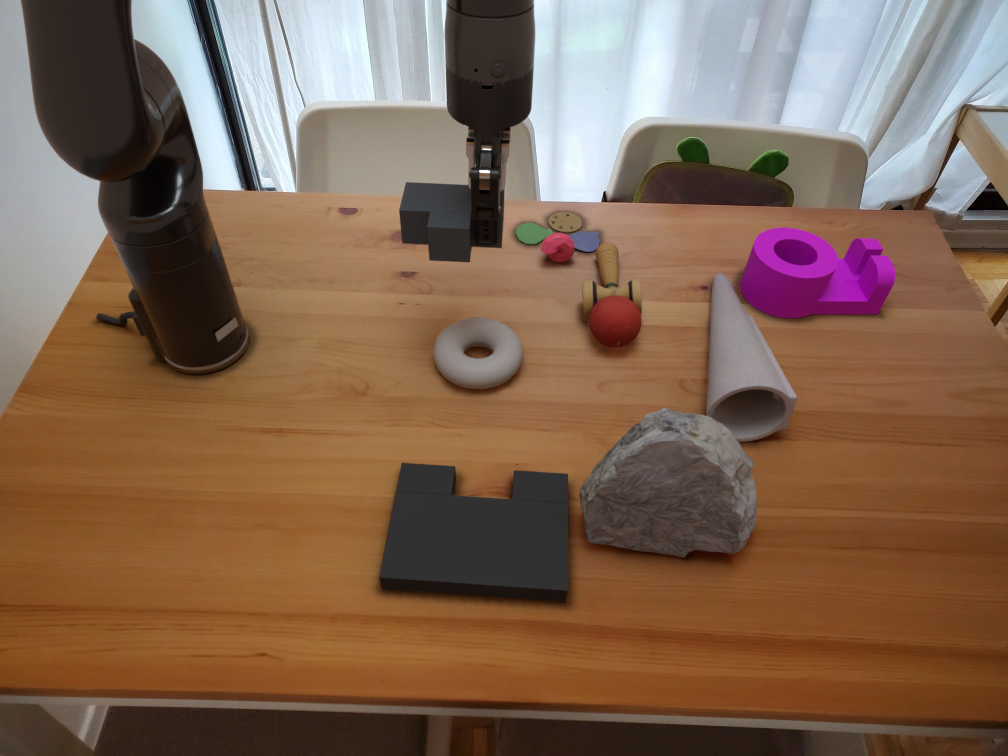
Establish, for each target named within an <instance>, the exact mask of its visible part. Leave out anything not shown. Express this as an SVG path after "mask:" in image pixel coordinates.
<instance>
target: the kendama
mask: <svg viewBox="0 0 1008 756" xmlns="http://www.w3.org/2000/svg"><path fill="white" fill-rule="evenodd" d="M595 259H596V262H597V265H598V266H597V267H598V271H599V275H600V280H601V283H602V285H603V286H601V285H599V284H598V283H596V282H595V281H594V280H593V279H585V280H582V282H581V283H582V284H581V287H582V289H581V290H582V291H581V292H582V311H583V313H582V314H583V320H584V321H588V328H589V331H590V334H591V336H592V338H593V339H594V340H595V341H596V342H597V343H598V344H599V345H601V346H603V347H606V348H609V349H616V350H618V349H621V348H624V347H627V346H628V345H631V343H633V342H634V341H635V340H636V339H637V337H638V336H639V333H640V331H641V329H642V320H643V319H642V314H643V302H642V301H643V297H642V295H643V294H642V284H641V279H633V278H632V279H631V280H629V281H628V282H627V283H626V284H623V285H622V286H619V279H620V273H619V272H620V271H619V269H620V268H619V249H618V247H617V245H616V244H614V243H612V242H604V243H601V244H599V247H598V248H597V249H596V250H595Z"/></svg>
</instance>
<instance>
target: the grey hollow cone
mask: <svg viewBox="0 0 1008 756" xmlns="http://www.w3.org/2000/svg"><path fill="white" fill-rule="evenodd" d="M711 286H712V287H711V296H710V297H711V300H710V317H709V319H710V320H709V321H710V322H709V339H708V340H709V342H708V343H709V345H708V363H707V364H708V365H707V388H706V403H705V404H706V405H705V406H706V407H705V416H709V417H711V418H713V419H714V420H715V421H717V422H719V423H722V424H723V425H725V426H726V427H727V428H728V429H730V431H731V432H732V434H733V435H734V437H735V439H736V440H737V441H738V442H739V443H746V442H752V441H757V440H760V439H764V438H766V437H769V436H770V435H773V434H774V433H777V432H778V431H786V430H787V429H788V427H789V424H790V421H791V418H792V416H793V414H794V410H795V407H796V405H797V401H798V396H797V394H796V392H795V391H794V389H793V387H792V386H791V385H792V384H791V383H790V382H789V380H788V378H787V376H786V375H785V373H784V371H783V369H782V367H781V366H780V364H779V362H778V360H777V358H776V356H775V355H774V352H773V351H772V350H771V348H770V346H769V344H768V343H767V341H766V339H765V337H764V335H763V333H762V332H761V330H760V328H759V326H758V325H757V322H756V321H755V319H754V317H753V316H752V314H748V313H747V311H746V310H745V308H744V306H743V304H742V303H741V301H740V298H739V297H738V295H737V293H736V291H735V289H734V286H733V283H732V282H731V280H730V278H728V277H727V275H725V274H724V273H722V272H718V273H716V274H715V275H714V276H713V278H712V285H711Z"/></svg>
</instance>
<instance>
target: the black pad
mask: <svg viewBox="0 0 1008 756" xmlns="http://www.w3.org/2000/svg"><path fill="white" fill-rule="evenodd" d="M456 469H457V468H456V466H455V465H445V464H444V465H442V464H427V463H413V462H401V463H400V469H399V474H398V479H397V480H398V481H397V485H396V490H395V493H394V499H393V503H392V510H391V515H390V520H389V525H388V530H387V536H386V540H385V545H384V550H383V555H382V561H381V566H380V569H379V570H380V571H379V576H378V578H379V583H380V588H381V590H388V591H400V592H401V591H402V592H416V593H431V594H432V593H433V594H445V595H458V596H474V597H488V598H500V599H513V600H516V599H517V600H528V601H543V602H558V603H566V602H567V598H568V592H569V473H563V472H550V471H549V472H546V471H534V470H533V471H532V470H516V469H514V470H513V478H512V492H511V493H512V494H511V498H501V497H485V496H472V495H471V496H469V495H455V490H456V483H457V475H456V474H457V472H456V471H457V470H456Z"/></svg>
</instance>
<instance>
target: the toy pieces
mask: <svg viewBox="0 0 1008 756" xmlns="http://www.w3.org/2000/svg"><path fill="white" fill-rule="evenodd" d="M549 216H550V217H549V218H548V221H547V222H548V225H549V226H550V228H547V229H546V228H544V227H543V226H541V225H538V224H536V223H534V222H524V223H521V224H520V225H518V226H517V228H516V230H515V235H516V238H517V239H518V240H519V242H521V243H522V244H525V245H531V246H534V245H537V244H539V243H541V242H542V243H541V247H540V251H541V253H543V254H546V256H548V258H549V259H550V260H552V261H553V262H554V263H560V264H561V263H565V262H567V261H569V260H570V259H571V258H572V257H573V256H574V254H575V249H576V250H579V251H582V252H586V253H589V252H594V251H596V250H597V248H598V247H599V246H600V237H599V231H598V230H595V231H578V230H580V229H581V228H582V226H583V221H582V218H581V217H580V216H579V215H577V214H576V213H574V212H570V211H559V212H555V213H553V214H552V215H549ZM553 230H554V231H557V232H553ZM566 233H567V234H566ZM568 233H571V234H569V235H568Z"/></svg>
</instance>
